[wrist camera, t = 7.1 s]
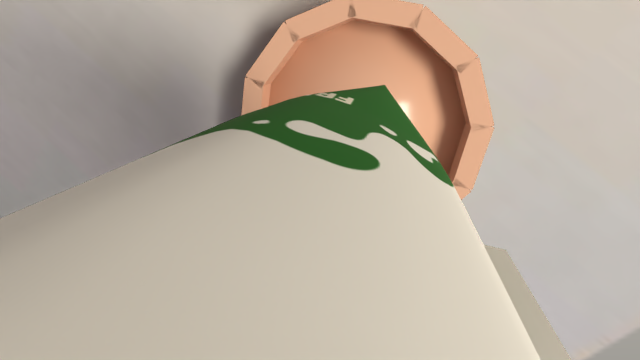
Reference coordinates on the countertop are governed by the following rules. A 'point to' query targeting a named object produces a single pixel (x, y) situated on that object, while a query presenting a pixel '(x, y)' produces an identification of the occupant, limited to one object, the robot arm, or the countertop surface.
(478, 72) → the tray
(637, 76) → the countertop surface
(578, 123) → the countertop surface
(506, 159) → the countertop surface
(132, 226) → the soya milk
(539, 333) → the robot arm
